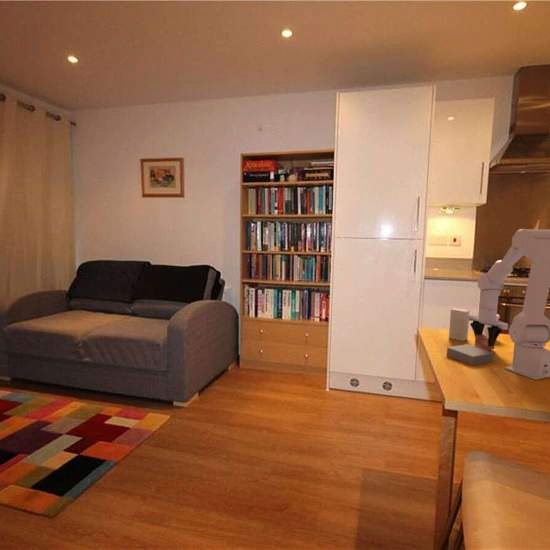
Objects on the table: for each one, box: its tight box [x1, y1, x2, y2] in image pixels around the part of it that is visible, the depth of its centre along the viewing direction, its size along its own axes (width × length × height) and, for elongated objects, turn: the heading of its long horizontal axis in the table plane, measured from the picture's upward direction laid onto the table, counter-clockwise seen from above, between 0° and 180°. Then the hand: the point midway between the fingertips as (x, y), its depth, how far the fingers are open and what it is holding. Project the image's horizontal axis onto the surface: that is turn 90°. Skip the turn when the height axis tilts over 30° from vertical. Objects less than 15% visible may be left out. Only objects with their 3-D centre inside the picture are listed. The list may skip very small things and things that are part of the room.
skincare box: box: [448, 307, 470, 342], centre depth 149 cm, size 6×4×12 cm
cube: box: [474, 333, 496, 351], centre depth 136 cm, size 4×4×4 cm
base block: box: [446, 343, 495, 366], centre depth 126 cm, size 10×10×3 cm
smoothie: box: [482, 313, 501, 335], centre depth 151 cm, size 6×6×14 cm
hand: (484, 343), depth 136 cm, fingers closed on cube, 4 cm apart
